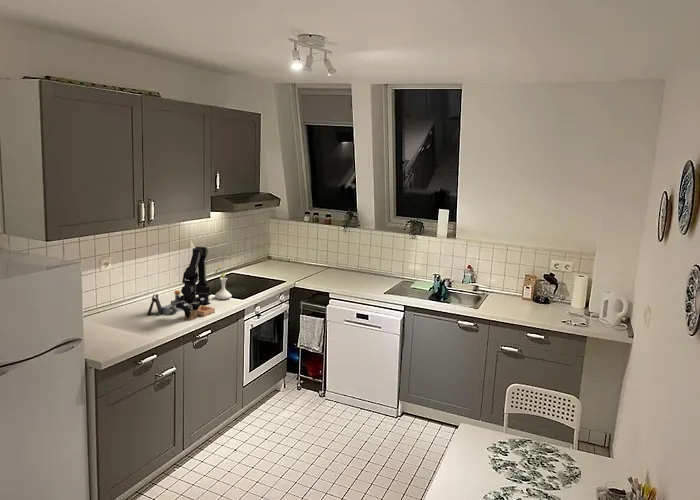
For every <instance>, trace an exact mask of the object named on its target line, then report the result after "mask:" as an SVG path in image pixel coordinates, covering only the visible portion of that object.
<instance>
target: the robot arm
mask: <svg viewBox="0 0 700 500" xmlns="http://www.w3.org/2000/svg"><path fill="white" fill-rule="evenodd" d="M208 253H209V249H208V248H207V246H195V248H192V255H191V259H190V262H189V265H188V267H186V268H185V271H184V272H183V275H182V281H181V284H184V286H182V287H181V289H180V295H177V296H176V300H177V301H179V303H177V304H176V308H180V309H183V310H182V311H184V312H183V313H184V316H185V315H186V317H187V318H189V314H190V310H191V309H194V310H198V308H199V307H200V306H201V305H203V306H207V305H209V304H211V302H210V301H209V300H210V299H209V296H212V290H211V287H210V284H209V281H208V280H207V273H206V258H207V256H208ZM181 294H182V295H181ZM180 301H183V302H180ZM185 302H186V303H185ZM190 304H191V305H192V307H191V308H190V307H189V305H190Z"/></svg>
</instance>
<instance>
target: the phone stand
mask: <svg viewBox="0 0 700 500" xmlns="http://www.w3.org/2000/svg"><path fill="white" fill-rule="evenodd" d="M154 304H155V305H156V308H157V311H158V315H159V316H163V315H164V313H163V310H162V307H163V306H162V305H161V302H160V299H159V294H158V293H156V294H155V293H154V294H153V295H152V297H151V303H150V305H149V308H148V310H147V313H146V316H151V314H152V311H153V307H154Z"/></svg>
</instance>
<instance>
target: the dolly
mask: <svg viewBox="0 0 700 500" xmlns="http://www.w3.org/2000/svg"><path fill="white" fill-rule="evenodd" d="M180 302H183V301H180ZM177 303H179V302H175V299H174V300H170V304H168V305H165V306H161V307H162V310H163V314H167V315H174V314H176V313H177V312H180V311H184V310H183V309H180V308H176V304H177ZM185 303H186V302H185ZM189 307H190V308H191V309H192V305H191V304H190V305H189Z"/></svg>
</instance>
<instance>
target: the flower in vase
mask: <svg viewBox="0 0 700 500" xmlns="http://www.w3.org/2000/svg"><path fill="white" fill-rule="evenodd" d="M222 265H223V264H222V262H220V264H219V265H218V267H217V268H216V270H215V271H214V273H215V274H217V273H218V271H219V270H220V271H221V275H220V276H219V280H220V282H221V288H220V290H219V291H217V292H216V293H215V294H214V298H215V299H219V300H228V299H229V300H230V299H231V298H232V294H231V293H230V291H228V290H227V289H226V281H227V280H228V277H226V274H225V272H222V269H221V267H222Z"/></svg>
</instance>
